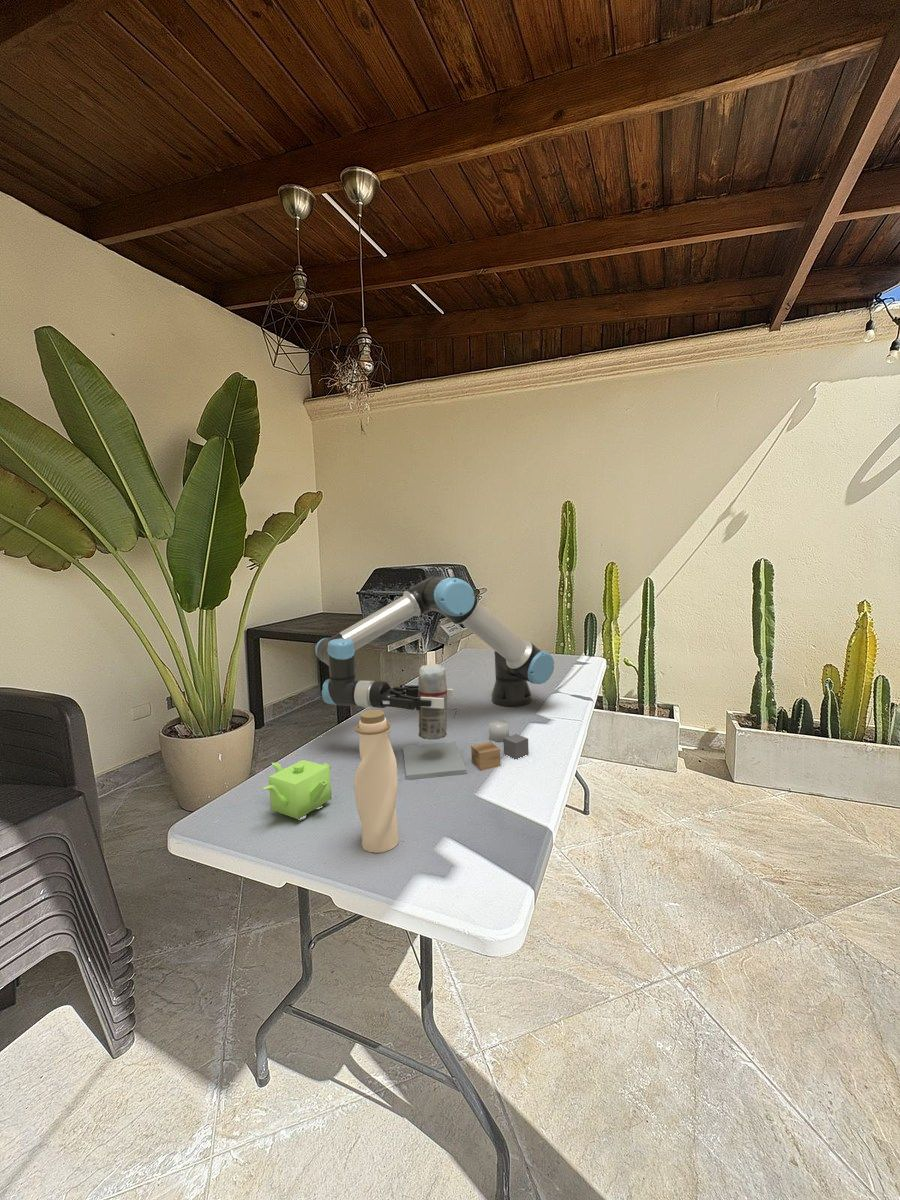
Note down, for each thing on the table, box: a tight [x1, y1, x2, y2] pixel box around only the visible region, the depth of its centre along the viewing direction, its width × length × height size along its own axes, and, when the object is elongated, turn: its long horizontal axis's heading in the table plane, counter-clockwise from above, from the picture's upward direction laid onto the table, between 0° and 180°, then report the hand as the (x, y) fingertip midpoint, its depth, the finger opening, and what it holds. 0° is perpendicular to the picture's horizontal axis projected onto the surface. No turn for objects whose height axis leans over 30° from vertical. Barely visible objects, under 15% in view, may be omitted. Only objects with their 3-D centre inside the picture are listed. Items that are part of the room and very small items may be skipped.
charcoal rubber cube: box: [502, 733, 530, 760], centre depth 153 cm, size 5×5×5 cm
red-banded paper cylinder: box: [417, 663, 448, 741], centre depth 149 cm, size 8×8×20 cm
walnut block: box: [470, 741, 501, 772], centre depth 147 cm, size 6×6×5 cm
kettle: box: [262, 759, 333, 820], centre depth 126 cm, size 15×14×11 cm
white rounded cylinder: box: [488, 719, 510, 743], centre depth 165 cm, size 6×6×5 cm
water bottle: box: [353, 709, 400, 854], centre depth 111 cm, size 10×9×28 cm
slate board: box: [402, 741, 467, 781], centre depth 151 cm, size 20×16×1 cm
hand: (448, 698), depth 148 cm, fingers closed on red-banded paper cylinder, 8 cm apart
